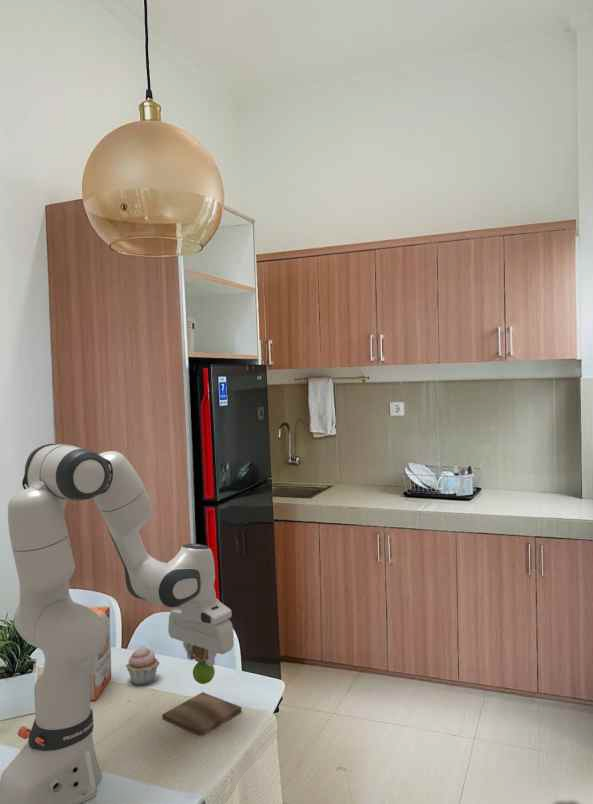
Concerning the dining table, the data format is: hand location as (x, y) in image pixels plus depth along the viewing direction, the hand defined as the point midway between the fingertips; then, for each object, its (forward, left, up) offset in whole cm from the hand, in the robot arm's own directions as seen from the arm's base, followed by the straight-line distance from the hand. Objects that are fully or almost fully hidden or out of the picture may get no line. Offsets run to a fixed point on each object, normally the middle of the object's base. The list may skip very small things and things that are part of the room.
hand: (200, 661), depth 166 cm
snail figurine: (0, -2, -5) cm, 6 cm away
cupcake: (+4, +28, -14) cm, 31 cm away
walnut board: (0, 0, -14) cm, 14 cm away
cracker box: (-7, +35, -14) cm, 38 cm away
